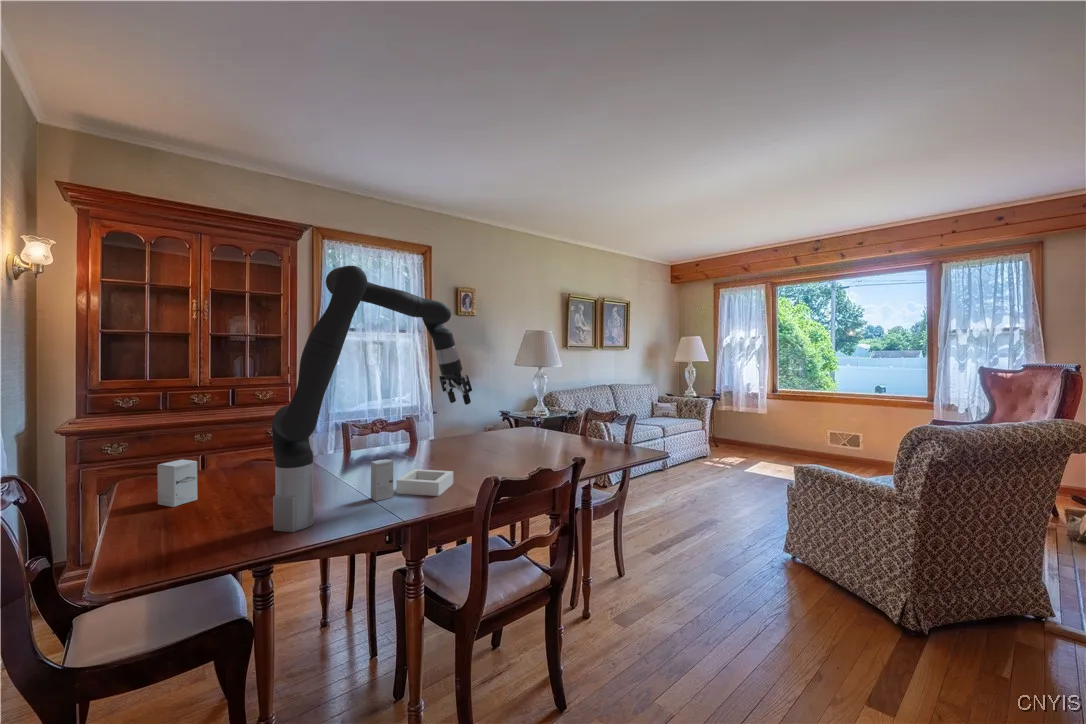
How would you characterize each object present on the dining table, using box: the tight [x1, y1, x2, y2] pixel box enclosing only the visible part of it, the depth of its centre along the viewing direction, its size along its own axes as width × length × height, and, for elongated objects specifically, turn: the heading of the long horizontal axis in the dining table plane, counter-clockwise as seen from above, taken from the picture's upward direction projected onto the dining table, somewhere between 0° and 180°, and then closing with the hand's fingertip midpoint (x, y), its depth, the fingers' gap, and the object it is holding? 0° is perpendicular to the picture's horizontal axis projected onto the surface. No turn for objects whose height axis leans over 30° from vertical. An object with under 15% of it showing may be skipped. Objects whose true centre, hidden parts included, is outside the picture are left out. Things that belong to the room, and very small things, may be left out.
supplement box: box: [157, 459, 198, 508], centre depth 146 cm, size 7×7×13 cm
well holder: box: [395, 468, 454, 497], centre depth 163 cm, size 14×15×4 cm
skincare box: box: [370, 458, 394, 502], centre depth 152 cm, size 6×4×12 cm
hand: (460, 403), depth 166 cm, fingers open, 8 cm apart
